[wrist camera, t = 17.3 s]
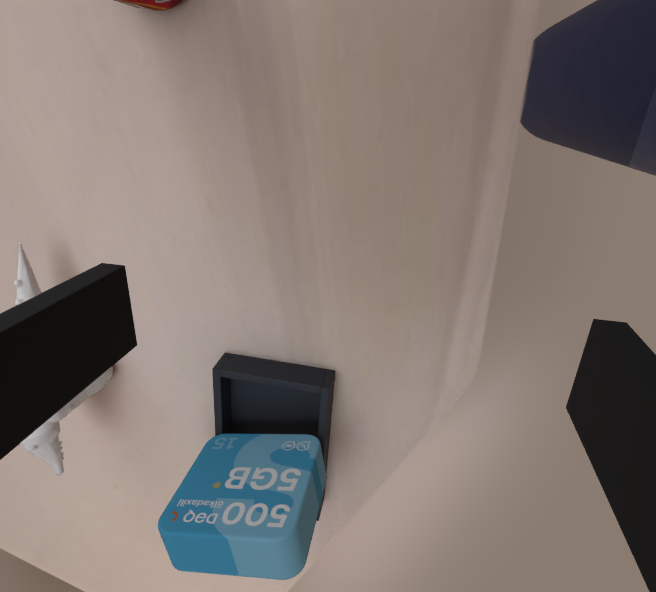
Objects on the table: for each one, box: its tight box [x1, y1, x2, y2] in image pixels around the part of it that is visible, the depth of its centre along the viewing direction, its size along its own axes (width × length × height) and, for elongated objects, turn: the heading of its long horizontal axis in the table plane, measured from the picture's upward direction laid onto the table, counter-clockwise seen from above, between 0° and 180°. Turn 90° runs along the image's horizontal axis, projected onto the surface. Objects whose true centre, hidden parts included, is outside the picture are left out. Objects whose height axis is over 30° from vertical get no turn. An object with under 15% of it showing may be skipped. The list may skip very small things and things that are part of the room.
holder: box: [213, 353, 335, 521], centre depth 48 cm, size 12×18×3 cm, turn 176°
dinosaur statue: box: [14, 241, 113, 475], centre depth 44 cm, size 7×24×11 cm, turn 1°
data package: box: [158, 434, 327, 580], centre depth 41 cm, size 12×4×12 cm, turn 98°
